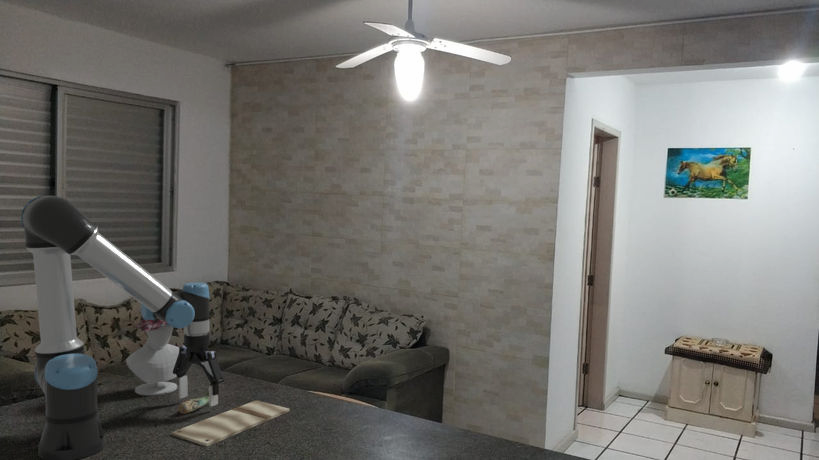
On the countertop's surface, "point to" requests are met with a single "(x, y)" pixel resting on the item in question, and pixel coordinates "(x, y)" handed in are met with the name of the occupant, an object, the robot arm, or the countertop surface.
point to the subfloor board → (230, 423)
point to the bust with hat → (154, 359)
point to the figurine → (193, 404)
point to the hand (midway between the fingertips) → (198, 401)
